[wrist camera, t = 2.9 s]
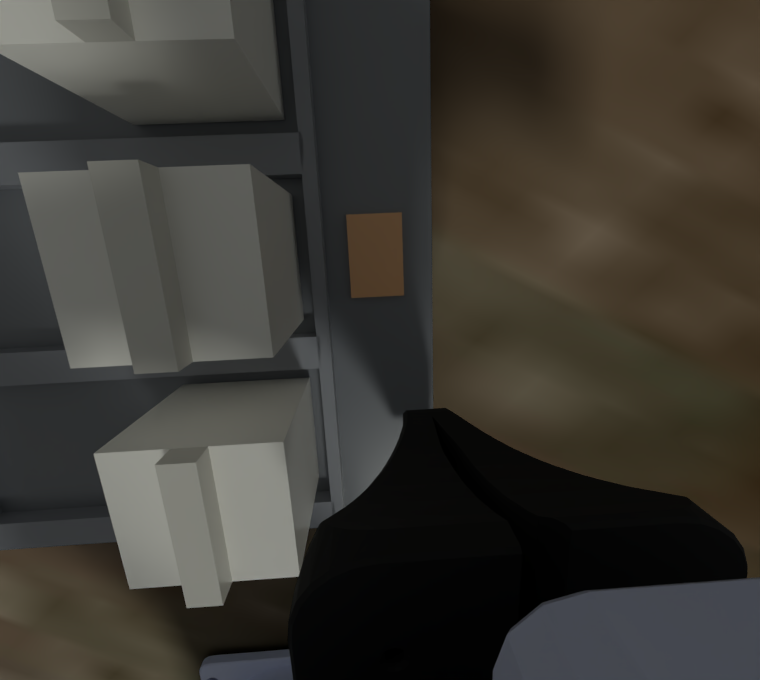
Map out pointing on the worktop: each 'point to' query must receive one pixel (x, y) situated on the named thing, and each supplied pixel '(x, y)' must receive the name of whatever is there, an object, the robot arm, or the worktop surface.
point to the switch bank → (315, 256)
